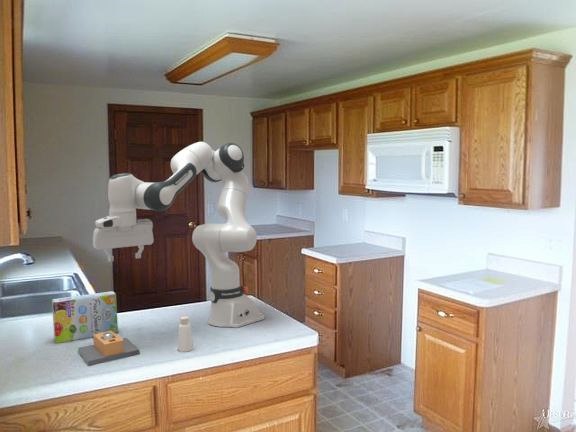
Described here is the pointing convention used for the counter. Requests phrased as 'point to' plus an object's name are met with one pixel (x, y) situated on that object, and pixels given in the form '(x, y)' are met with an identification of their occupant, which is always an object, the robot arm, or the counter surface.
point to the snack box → (84, 316)
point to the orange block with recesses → (108, 344)
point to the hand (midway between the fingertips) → (124, 259)
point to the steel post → (107, 336)
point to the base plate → (95, 356)
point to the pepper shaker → (185, 335)
